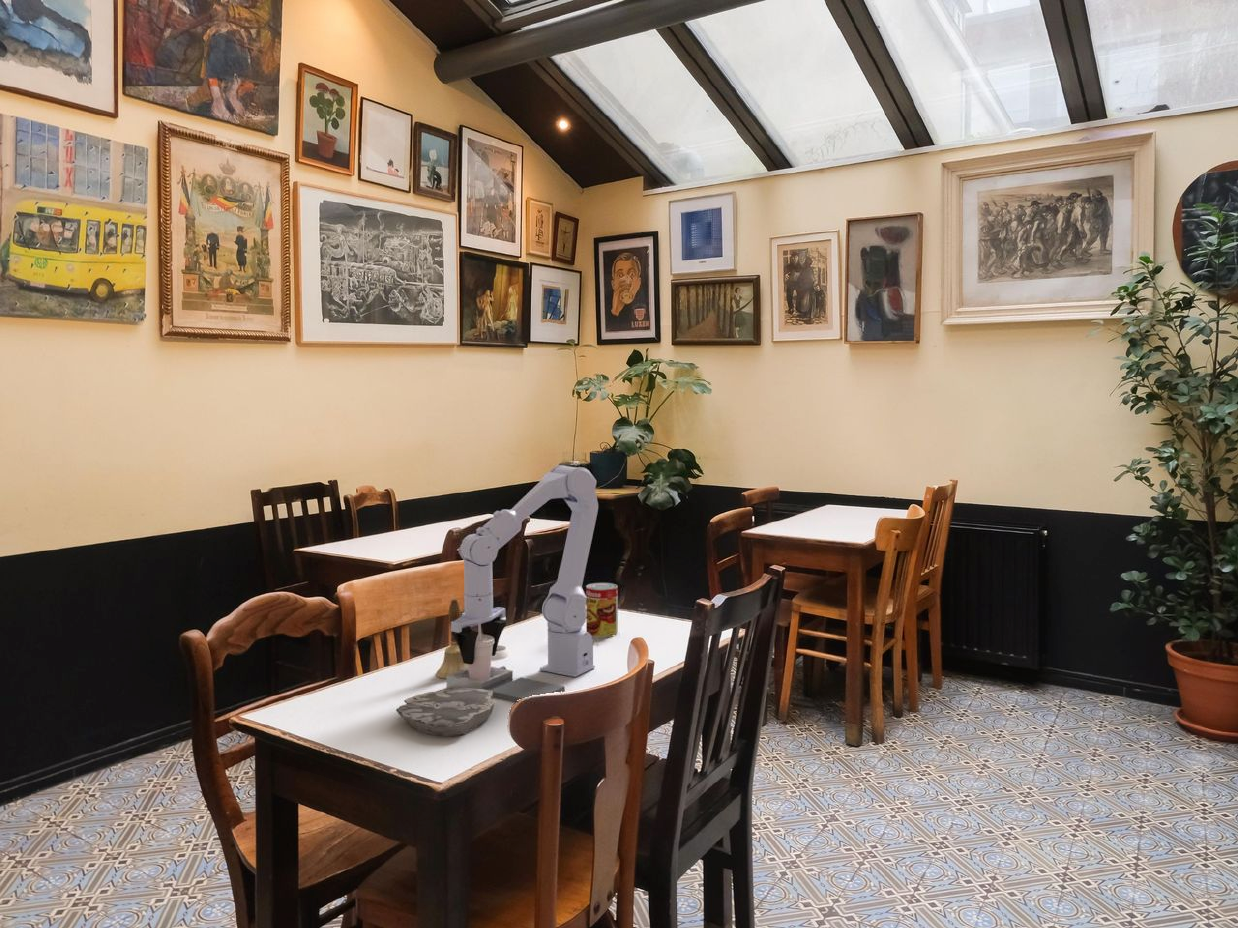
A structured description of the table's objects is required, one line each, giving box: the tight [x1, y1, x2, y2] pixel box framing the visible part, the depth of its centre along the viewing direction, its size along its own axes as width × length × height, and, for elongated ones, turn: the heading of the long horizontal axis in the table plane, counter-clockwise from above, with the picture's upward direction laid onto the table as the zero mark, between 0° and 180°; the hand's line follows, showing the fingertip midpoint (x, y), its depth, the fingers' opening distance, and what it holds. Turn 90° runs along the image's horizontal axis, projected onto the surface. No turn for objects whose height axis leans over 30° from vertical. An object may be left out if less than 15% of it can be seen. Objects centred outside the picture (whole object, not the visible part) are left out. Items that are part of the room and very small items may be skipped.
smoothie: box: [468, 623, 495, 681], centre depth 178 cm, size 6×6×14 cm
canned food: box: [585, 582, 619, 638], centre depth 218 cm, size 8×8×12 cm
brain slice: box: [395, 688, 495, 738], centre depth 159 cm, size 20×17×3 cm
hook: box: [491, 616, 511, 661], centre depth 198 cm, size 8×12×7 cm
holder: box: [445, 665, 514, 691], centre depth 179 cm, size 10×12×2 cm
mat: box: [491, 677, 566, 703], centre depth 173 cm, size 11×10×1 cm
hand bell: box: [435, 598, 468, 680], centre depth 185 cm, size 8×8×16 cm
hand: (479, 659), depth 178 cm, fingers closed on smoothie, 6 cm apart
